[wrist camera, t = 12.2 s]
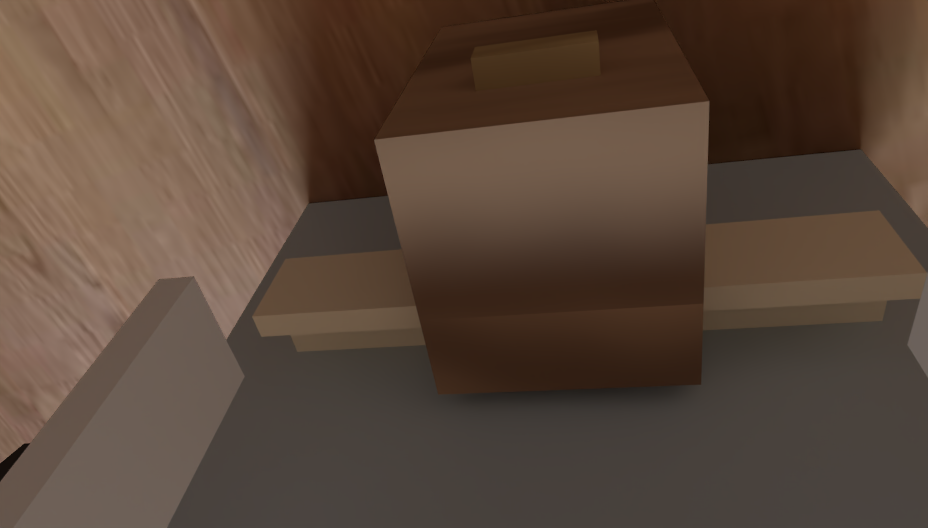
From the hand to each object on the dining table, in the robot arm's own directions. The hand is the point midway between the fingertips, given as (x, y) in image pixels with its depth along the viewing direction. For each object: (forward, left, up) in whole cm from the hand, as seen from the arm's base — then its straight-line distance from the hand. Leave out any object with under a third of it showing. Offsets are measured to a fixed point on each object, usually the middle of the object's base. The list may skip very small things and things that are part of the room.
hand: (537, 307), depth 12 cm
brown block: (+2, 0, -13) cm, 13 cm away
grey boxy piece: (+9, 0, -17) cm, 19 cm away
